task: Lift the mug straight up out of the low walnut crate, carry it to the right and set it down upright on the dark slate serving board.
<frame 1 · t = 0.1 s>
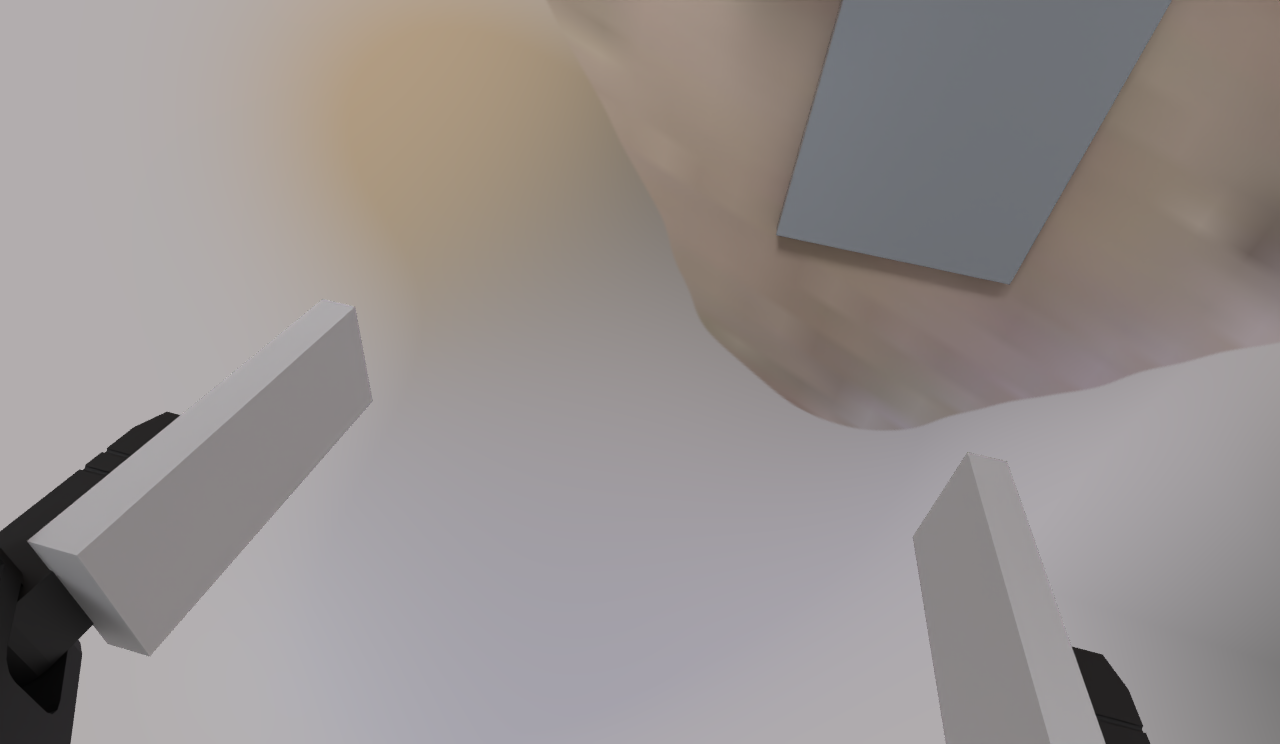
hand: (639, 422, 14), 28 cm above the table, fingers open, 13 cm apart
board: (952, 98, 33), on the table
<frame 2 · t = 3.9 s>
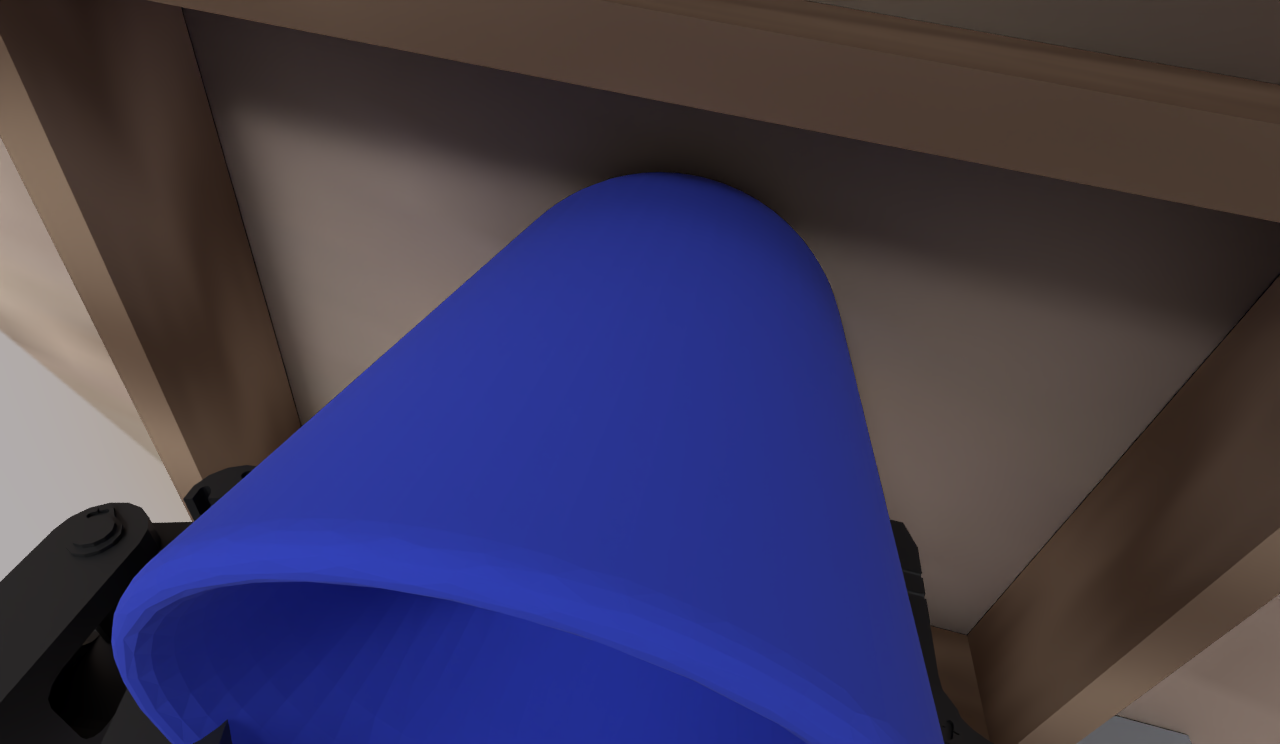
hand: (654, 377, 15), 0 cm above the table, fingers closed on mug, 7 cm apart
crate: (655, 369, 15), on the table
mug: (642, 362, 15), resting in crate, touching gripper
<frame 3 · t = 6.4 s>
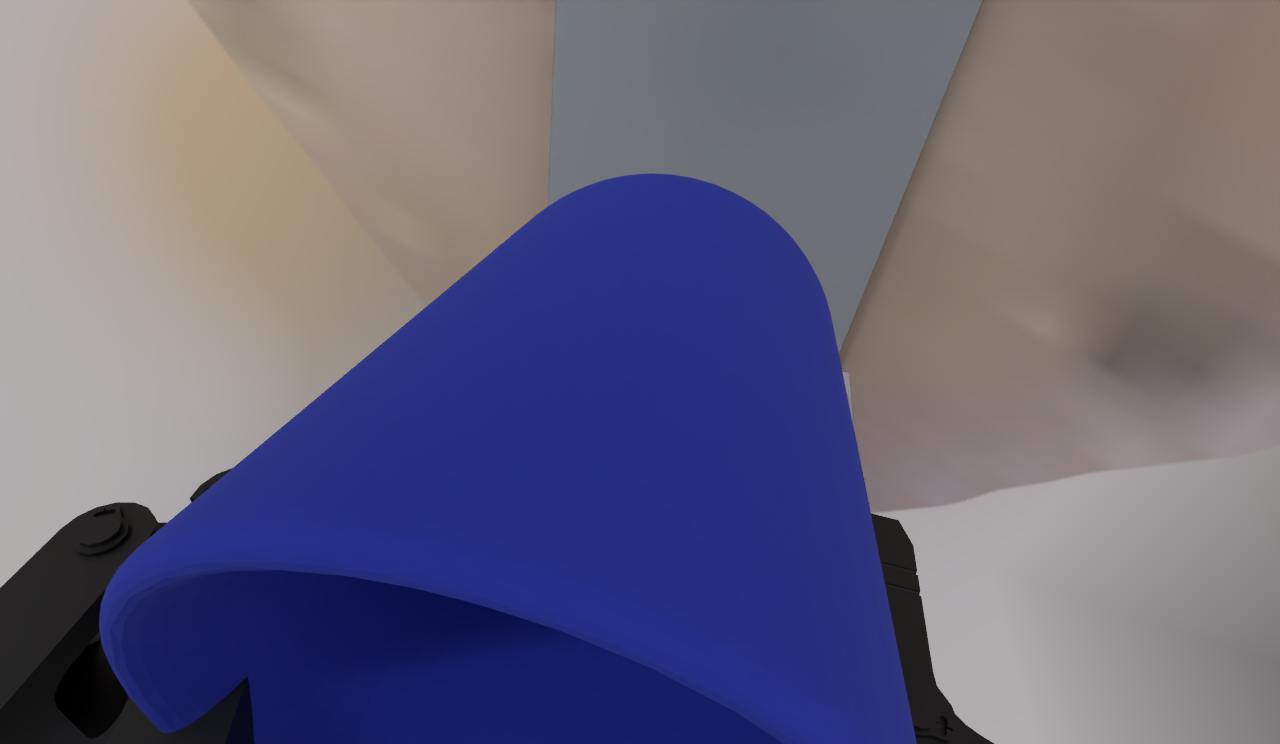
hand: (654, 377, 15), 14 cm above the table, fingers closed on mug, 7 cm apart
board: (720, 172, 26), on the table
mug: (638, 362, 15), point 14 cm above the table, touching gripper
when the fingers open (2 cm above the table, at t = 8.8 s): mug stays where it is, resting on board.
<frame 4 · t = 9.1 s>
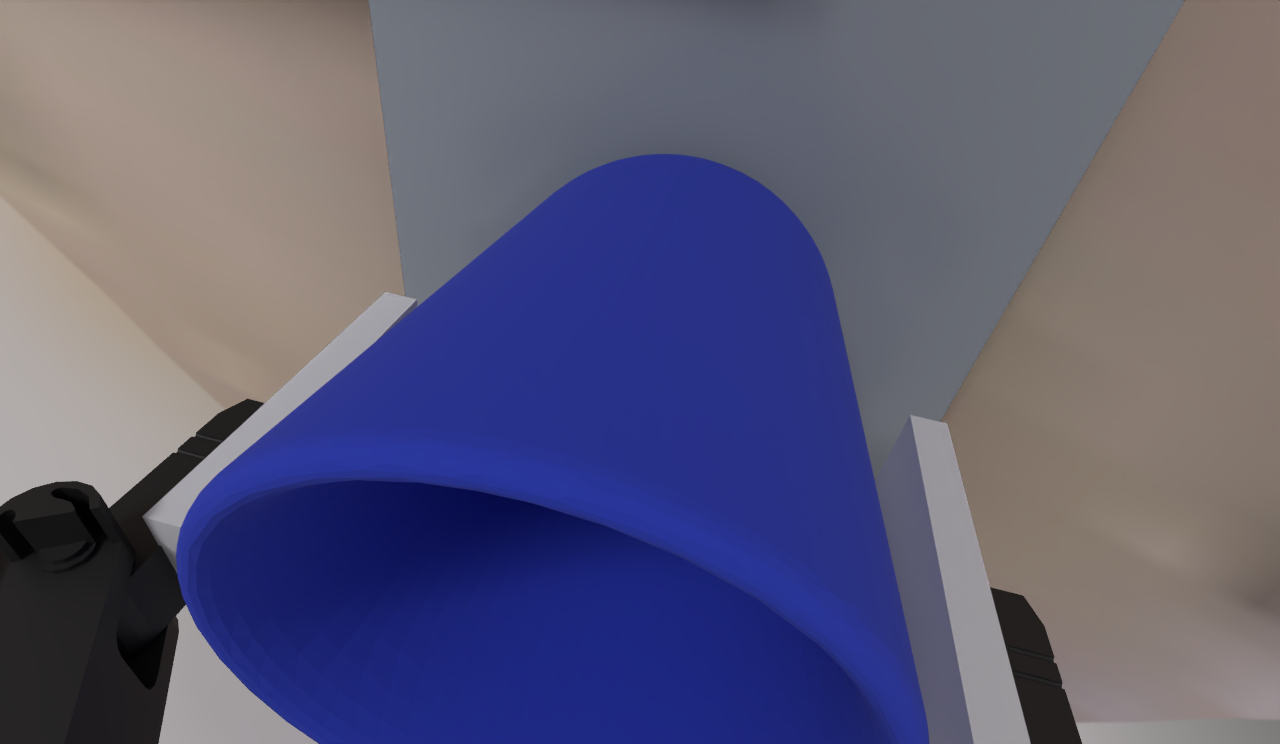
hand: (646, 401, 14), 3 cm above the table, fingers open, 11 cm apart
board: (671, 324, 17), on the table
mug: (647, 340, 16), point 1 cm above the table, touching board
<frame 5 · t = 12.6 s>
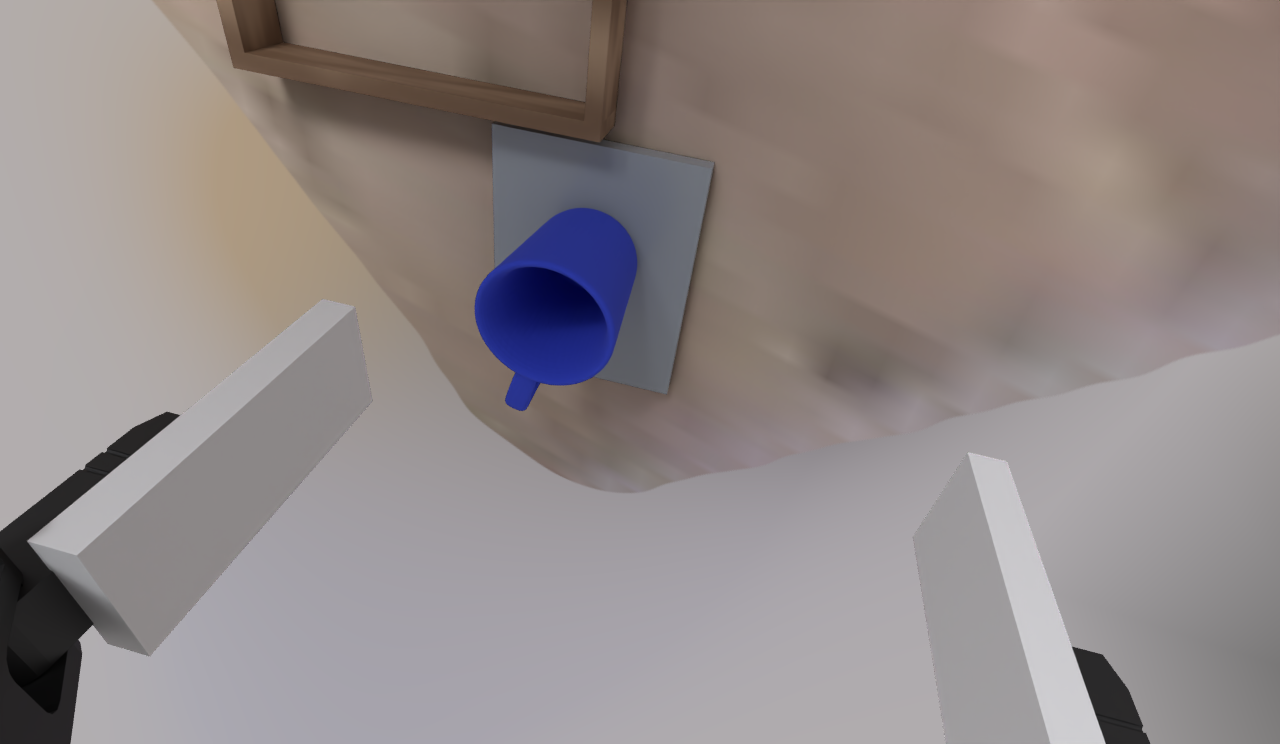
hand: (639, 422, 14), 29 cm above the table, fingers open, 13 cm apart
board: (593, 266, 45), on the table
mug: (583, 270, 44), point 1 cm above the table, touching board
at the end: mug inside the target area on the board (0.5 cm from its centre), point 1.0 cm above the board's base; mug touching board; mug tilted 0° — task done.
